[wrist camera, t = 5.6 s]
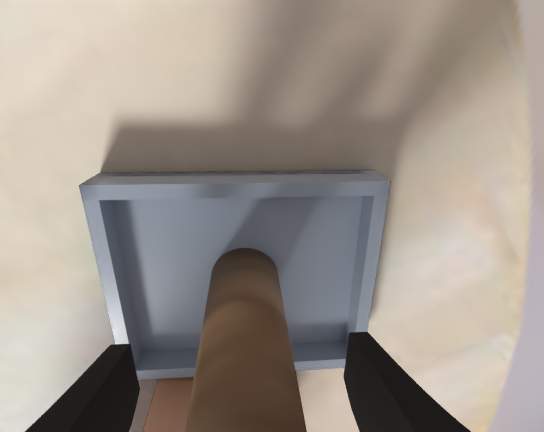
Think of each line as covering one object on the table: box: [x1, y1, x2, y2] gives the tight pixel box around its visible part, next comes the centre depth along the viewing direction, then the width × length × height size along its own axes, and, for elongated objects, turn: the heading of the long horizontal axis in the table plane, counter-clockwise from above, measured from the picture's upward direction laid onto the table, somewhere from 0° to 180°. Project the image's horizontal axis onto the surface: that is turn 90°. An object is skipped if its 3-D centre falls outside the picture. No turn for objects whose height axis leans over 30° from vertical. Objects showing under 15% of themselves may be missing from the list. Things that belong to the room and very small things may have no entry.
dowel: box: [185, 248, 307, 432], centre depth 12 cm, size 3×3×8 cm
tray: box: [79, 170, 391, 380], centre depth 15 cm, size 12×10×2 cm
